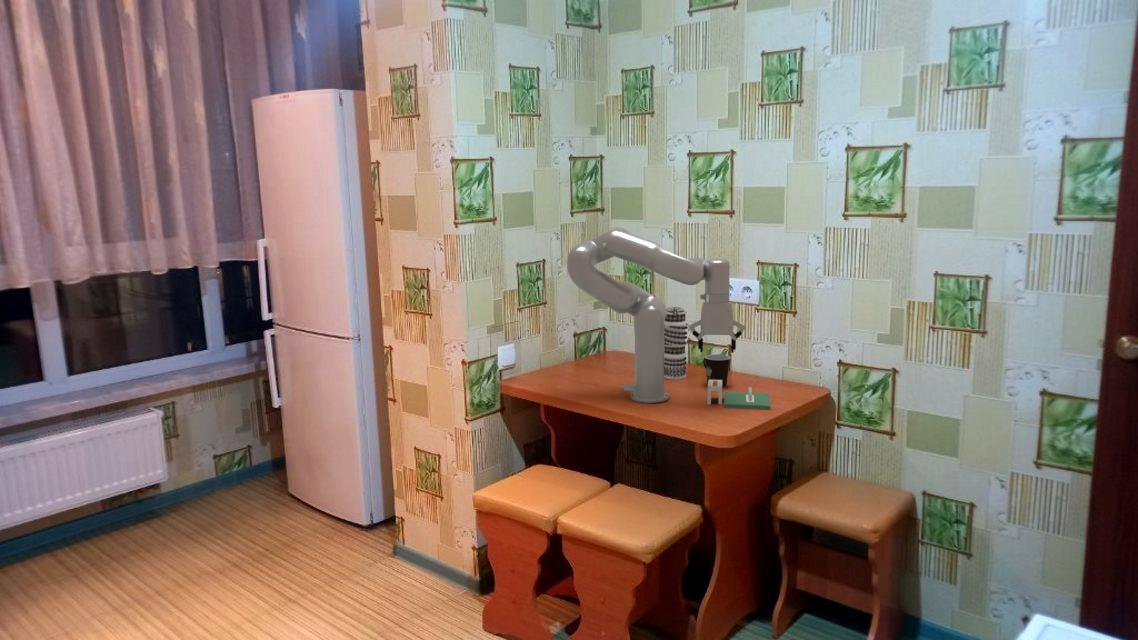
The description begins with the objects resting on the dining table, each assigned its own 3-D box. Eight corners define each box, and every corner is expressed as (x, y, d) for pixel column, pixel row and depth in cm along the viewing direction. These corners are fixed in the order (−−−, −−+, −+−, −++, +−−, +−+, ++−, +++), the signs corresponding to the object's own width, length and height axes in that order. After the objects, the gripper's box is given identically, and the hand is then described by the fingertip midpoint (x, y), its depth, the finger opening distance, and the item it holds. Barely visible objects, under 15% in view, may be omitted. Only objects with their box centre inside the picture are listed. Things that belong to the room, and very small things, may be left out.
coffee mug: (732, 388, 266) (732, 360, 264) (706, 389, 266) (707, 360, 264) (725, 379, 278) (725, 352, 276) (700, 380, 278) (701, 352, 276)
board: (724, 407, 245) (724, 394, 245) (724, 395, 259) (724, 382, 258) (770, 409, 243) (770, 396, 242) (768, 396, 256) (768, 384, 255)
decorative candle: (692, 375, 284) (693, 307, 279) (677, 380, 277) (678, 311, 273) (671, 371, 290) (672, 304, 285) (656, 376, 283) (656, 308, 279)
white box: (707, 404, 249) (707, 385, 248) (708, 397, 257) (708, 378, 256) (721, 404, 248) (722, 386, 247) (722, 397, 256) (722, 379, 255)
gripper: (688, 300, 245) (688, 353, 248) (745, 300, 241) (744, 354, 244) (689, 296, 252) (690, 348, 255) (745, 296, 248) (744, 349, 251)
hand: (716, 351), depth 250 cm, fingers open, 9 cm apart
